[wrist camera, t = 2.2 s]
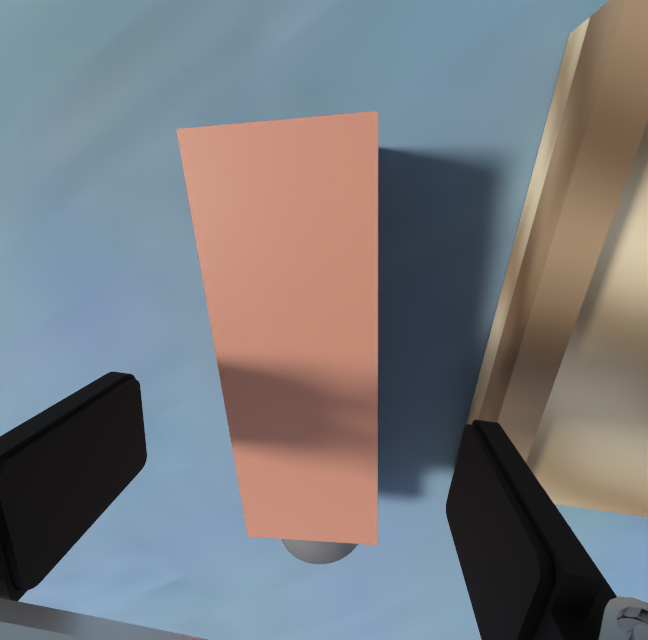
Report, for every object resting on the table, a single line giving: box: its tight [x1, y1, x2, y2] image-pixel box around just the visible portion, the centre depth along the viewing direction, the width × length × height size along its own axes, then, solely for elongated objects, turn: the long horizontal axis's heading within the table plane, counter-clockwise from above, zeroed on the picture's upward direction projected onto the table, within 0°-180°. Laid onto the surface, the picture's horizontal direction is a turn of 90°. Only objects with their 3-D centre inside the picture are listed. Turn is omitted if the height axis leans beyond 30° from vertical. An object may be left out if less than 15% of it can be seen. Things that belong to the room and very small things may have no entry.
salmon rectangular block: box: [176, 111, 378, 564], centre depth 13 cm, size 16×5×5 cm, turn 3°
